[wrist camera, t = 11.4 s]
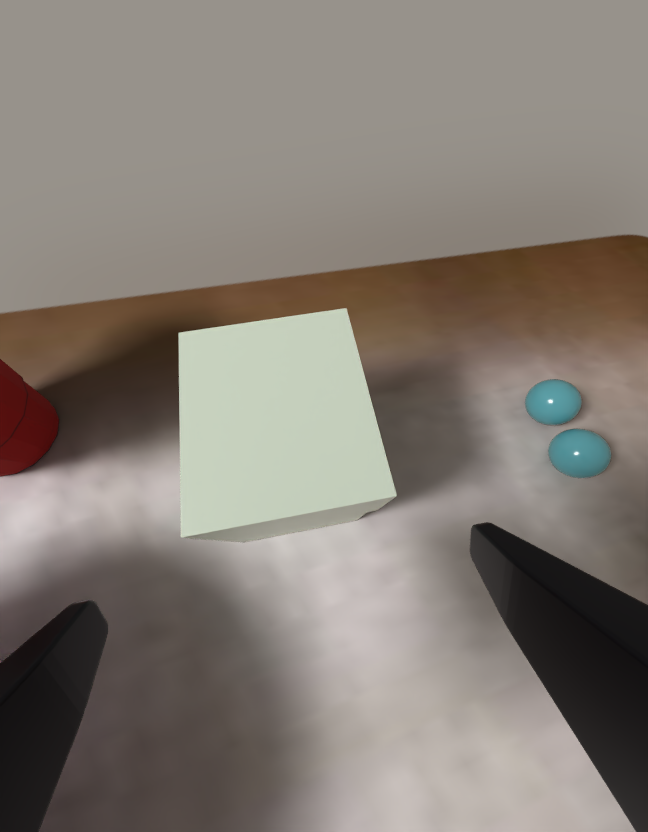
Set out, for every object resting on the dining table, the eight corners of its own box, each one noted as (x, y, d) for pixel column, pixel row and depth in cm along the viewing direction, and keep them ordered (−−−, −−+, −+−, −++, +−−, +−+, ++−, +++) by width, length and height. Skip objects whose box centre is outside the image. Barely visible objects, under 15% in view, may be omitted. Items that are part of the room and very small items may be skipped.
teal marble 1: (568, 413, 22) (603, 394, 19) (543, 440, 21) (577, 424, 19) (532, 384, 23) (560, 362, 20) (507, 409, 22) (533, 389, 19)
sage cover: (365, 518, 19) (396, 495, 11) (243, 542, 19) (180, 537, 10) (337, 396, 22) (346, 308, 14) (233, 414, 22) (178, 332, 14)
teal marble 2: (594, 461, 21) (635, 448, 18) (568, 492, 20) (608, 483, 17) (554, 429, 22) (588, 411, 19) (528, 457, 21) (559, 443, 18)
